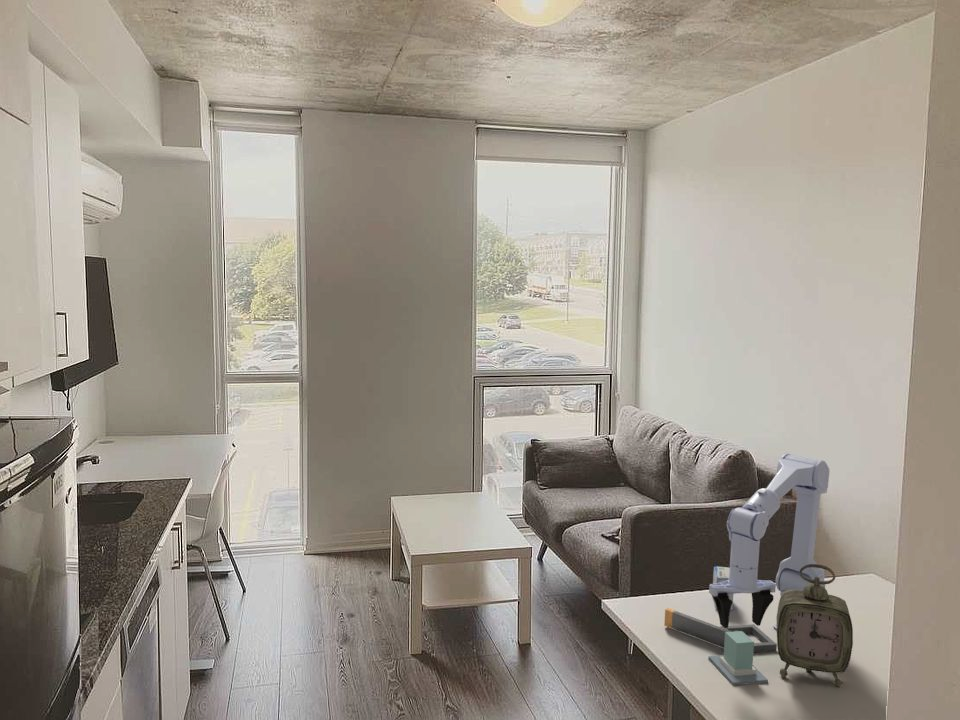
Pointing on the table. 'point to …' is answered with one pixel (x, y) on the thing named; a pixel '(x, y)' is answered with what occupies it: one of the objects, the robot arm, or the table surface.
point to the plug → (738, 654)
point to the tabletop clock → (814, 629)
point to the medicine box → (722, 579)
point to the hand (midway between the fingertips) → (740, 624)
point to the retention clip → (695, 627)
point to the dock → (766, 641)
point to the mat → (741, 678)
